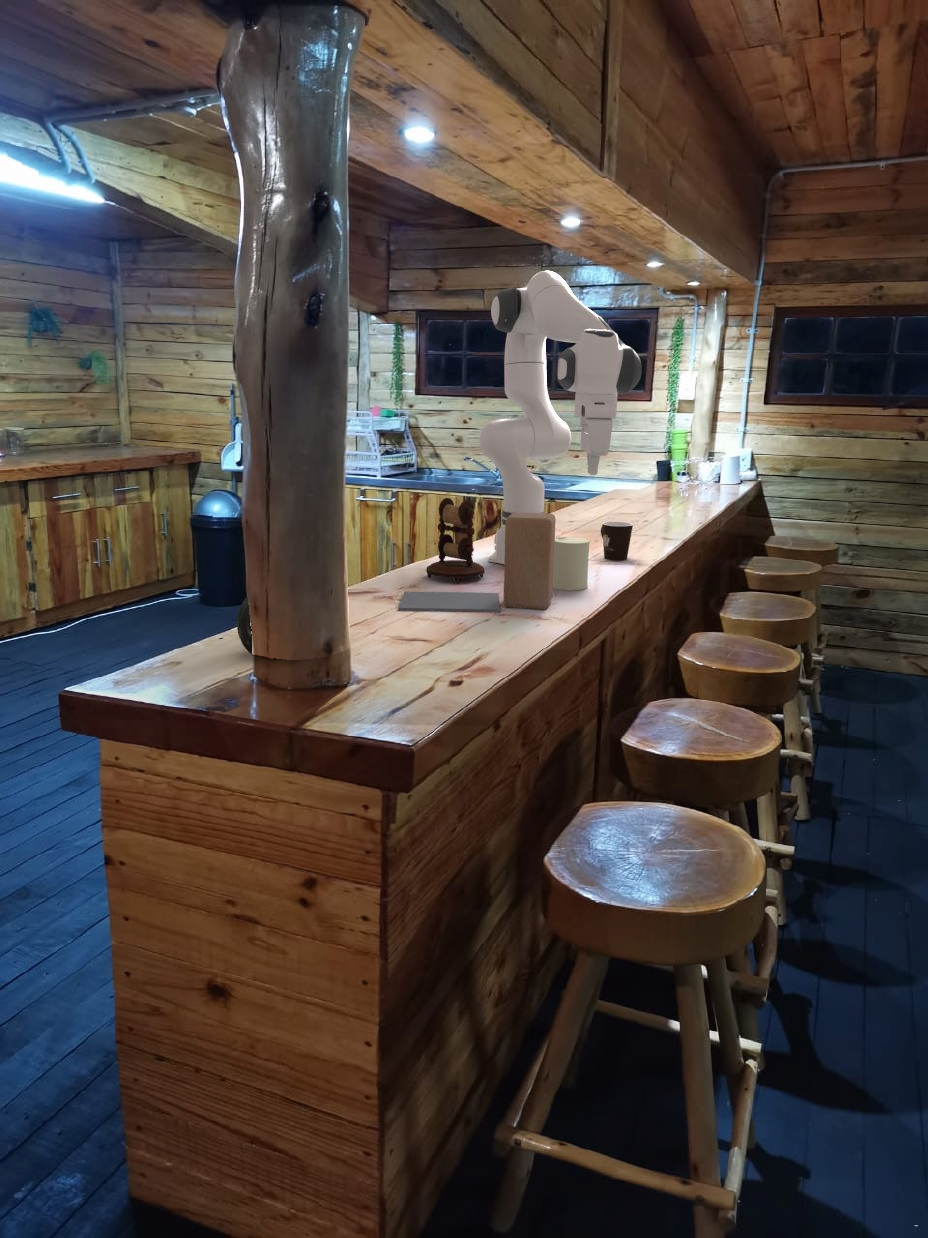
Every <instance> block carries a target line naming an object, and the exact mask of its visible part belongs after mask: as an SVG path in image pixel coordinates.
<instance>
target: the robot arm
mask: <svg viewBox="0 0 928 1238" xmlns="http://www.w3.org/2000/svg"><path fill="white" fill-rule="evenodd" d="M490 307H491V308H490V311H491V312H490V314H491V315H490V316H491V319H492V323H493V326H494V327H495V329H496V330H498V331H500V332H504V333H507V334H506V339H505V347H504V367H503V368H504V393H505V396H506V397H507V399H508V400H509V401H511V402H512V403H514V405H517V406H519V407H520V409H521V410H522V413H523V417H524V418H522V417H521V418H514V417H513V418H512V417H511V418H505V417H504V418H499V419H493V420H490V421H486V423H485V424H484V425H483V426H482V428H481V430H480V433H479V440H478V441H479V447H480V449H481V451H482V453H483V454H484V455H485V457H487V459H489V460H491V462H492V463H493V464H494V466H495V467H496V468H497V470H498V472H499V475H500V477H501V480H502V481H501V482H502V487H503V489H502V490H503V510H502V511H501V524H502V525H501V527H500V528H499V529H498V530H497V531H496V532H495V533H496V534H495V535H494V540H493V543H494V544H495V545H494V552H493V553H492V554H491V555H490V556H489V557H488V558H487V559H488V560H487V562H490V563H498V564H501V565H504V560H505V521H506V519H507V518H508V517H509V516H510V515H511V514H512V513H515V512H522V513H546V511H545V489H546V488H545V483H544V481H543V480H542V478H541V477H539V476H537V475H536V474H534V473H532V472H531V471H529V468H528V466H527V461H533V460H535V461H537V460H541V461H543V460H552V459H557V458H560V457H564V456H565V455H566V454H567V453H568V451H569V450H570V448H571V445H572V439H573V438H572V433H571V429H570V427H569V425H568V424H567V423H566V422H565V421H564V420H563V419H561V418H560V417H559V415H558V414H557V413H556V411H555V409H554V407H553V406H552V404H551V401H550V397H549V393H548V386H547V385H548V383H547V355H546V353H547V352H546V340H547V339H550V340H554V341H556V342H557V341H558V342H565V343H574V345H573V346H571V347H567V348H565V350H564V351H562V352H561V353H560V355H559V356H558V357H557V362H556V380H557V382H558V384H559V385H560V386H561V387H562V388H563V390H565V391H569V392H573V393H574V392H575V395H574V397H575V398H574V417H577V418H580V419H579V425H581V429H580V430H581V432H580V449H581V450H582V451H584V452H585V453H586V459H587V474H589V475H590V476H596V475H597V474H598V468H599V464H600V460H601V459H600V457H601V456H603V457H604V456H605V457H606V456H608V454H609V452H610V451H609V450H610V446H611V438H612V432H613V420H614V419H616V417H617V409H618V395H626V394H628V393H629V392H631V391H632V390H633V389H634V388H635V387H636V386H637V385H638V383H639V382H640V380H641V377H642V371H643V370H642V362H641V359H640V357H639V355H638V353H637V352H636V351H635V350H634V349H633V347H631V346H628V345H626V344H625V343H624V342H623V341H622V340H621V338H620V337H619V336H618V334H617V333H616V332H615V331H614V330H613V329H612V328H611V327H610V325H609V324H608V323H607V321H605V320H604V319H603V317H601V316H600V315H599V314H597V313H596V312H595V311H592V310H591V309H590V308H588V307H587V306H585V304H584V303H582V302H581V301H580V300H579V299H578V298H577V297H576V296H575V295H574V293H573V291H572V289H571V288H570V286H569V285H568V284H567V282H566V281H565V280H564V279H563V278H562V276H560V275H559V274H558V273H556V272H554V271H551V270H543V271H538V272H537V273H536V274H534V275H533V276H532V277H531V278H530V279H529V281H528V282H527V286H526V287H520V288H516V287H508V288H504V289H502V290H501V289H500V290H499V291H498V292H497V293H496V294H495V295H494V297H493V299H492V303H491V306H490Z"/></svg>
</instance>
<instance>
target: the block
mask: <svg viewBox="0 0 928 1238" xmlns="http://www.w3.org/2000/svg"><path fill="white" fill-rule="evenodd" d="M555 538H556V517H555V514H553V513H547V512H545V513H522V512H515V513H512V514H511V515H510V516H509V517H508V518H507V519H506V521H505V560H504V564H503V565H504V566H503V567H504V569H503V570H504V571H503V600H502V601H503V605H504V606H505V607H506V608H515V609H518V608H519V609H531V610H546V609H548V608H549V606H550V603H551V601H552V599H553V592H554V591H553V589H554V588H553V570H554V545H555Z"/></svg>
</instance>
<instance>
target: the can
mask: <svg viewBox="0 0 928 1238" xmlns="http://www.w3.org/2000/svg"><path fill="white" fill-rule="evenodd" d="M590 543H591V541H590V539H588V538H585V537H584V538H583V537H579V536H577V537H576V536H575V537H574V536H560V537H555V545H554V570H553V589H555V590H559V591H568V592H569V591H575V592H576V591H583V590H587V589H588V587H589V586H588V576H589V575H588V574H589V555H590Z"/></svg>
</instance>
